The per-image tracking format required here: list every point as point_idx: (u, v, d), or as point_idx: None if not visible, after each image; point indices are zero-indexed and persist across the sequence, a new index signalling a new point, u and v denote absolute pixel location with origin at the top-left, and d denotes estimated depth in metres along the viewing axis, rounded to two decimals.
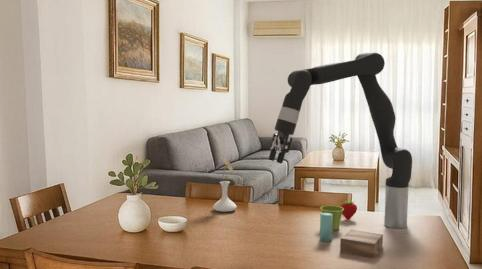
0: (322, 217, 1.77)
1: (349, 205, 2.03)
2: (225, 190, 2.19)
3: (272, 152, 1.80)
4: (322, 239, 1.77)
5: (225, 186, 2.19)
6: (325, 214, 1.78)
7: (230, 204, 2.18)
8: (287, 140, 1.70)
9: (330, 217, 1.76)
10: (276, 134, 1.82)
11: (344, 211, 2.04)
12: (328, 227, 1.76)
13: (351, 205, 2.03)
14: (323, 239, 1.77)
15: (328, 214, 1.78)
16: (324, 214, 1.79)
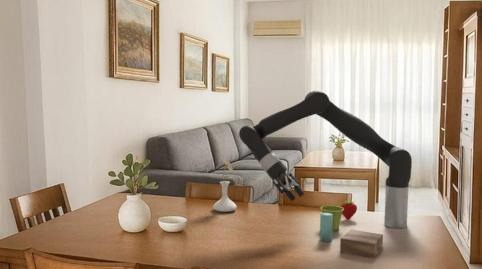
0: (322, 217, 1.77)
1: (349, 205, 2.03)
2: (225, 190, 2.19)
3: (296, 190, 1.88)
4: (322, 239, 1.77)
5: (225, 186, 2.19)
6: (325, 214, 1.78)
7: (230, 204, 2.18)
8: (276, 183, 1.80)
9: (330, 217, 1.76)
10: None
11: (344, 211, 2.04)
12: (328, 227, 1.76)
13: (351, 205, 2.03)
14: (323, 239, 1.77)
15: (328, 214, 1.78)
16: (324, 214, 1.79)
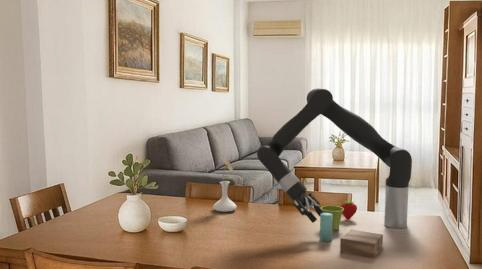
0: (322, 217, 1.77)
1: (349, 205, 2.03)
2: (225, 190, 2.19)
3: (316, 210, 1.84)
4: (322, 239, 1.77)
5: (225, 186, 2.19)
6: (325, 214, 1.78)
7: (230, 204, 2.18)
8: (296, 205, 1.77)
9: (330, 217, 1.76)
10: (307, 195, 1.88)
11: (344, 211, 2.04)
12: (328, 227, 1.76)
13: (351, 205, 2.03)
14: (323, 239, 1.77)
15: (328, 214, 1.78)
16: (324, 214, 1.79)
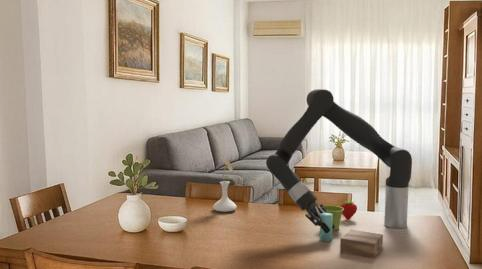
0: (322, 217, 1.77)
1: (349, 205, 2.03)
2: (225, 190, 2.19)
3: None
4: (322, 239, 1.77)
5: (225, 186, 2.19)
6: (326, 214, 1.78)
7: (230, 204, 2.18)
8: (309, 217, 1.75)
9: (330, 217, 1.76)
10: None
11: (344, 211, 2.04)
12: None
13: (351, 205, 2.03)
14: (323, 239, 1.77)
15: (328, 214, 1.78)
16: (324, 214, 1.79)
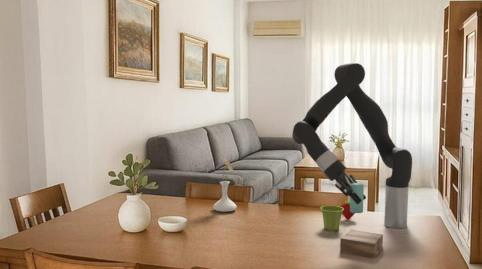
0: (353, 187, 1.66)
1: (349, 205, 2.03)
2: (225, 190, 2.19)
3: None
4: (353, 210, 1.67)
5: (225, 186, 2.19)
6: (356, 184, 1.68)
7: (230, 204, 2.18)
8: (339, 187, 1.64)
9: (361, 187, 1.66)
10: None
11: (344, 211, 2.04)
12: None
13: None
14: (354, 211, 1.67)
15: (359, 184, 1.68)
16: (355, 184, 1.68)
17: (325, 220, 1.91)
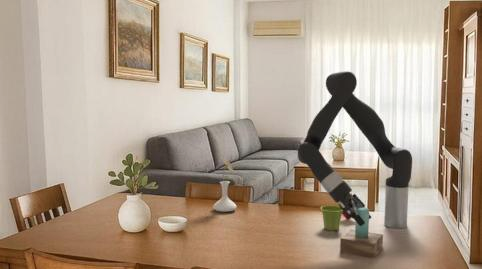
0: (358, 212, 1.65)
1: None
2: (225, 190, 2.19)
3: None
4: (358, 235, 1.66)
5: (225, 186, 2.19)
6: (361, 208, 1.67)
7: (230, 204, 2.18)
8: (342, 207, 1.63)
9: (367, 212, 1.65)
10: None
11: None
12: None
13: None
14: (359, 236, 1.66)
15: (364, 209, 1.67)
16: (360, 208, 1.67)
17: (325, 220, 1.91)
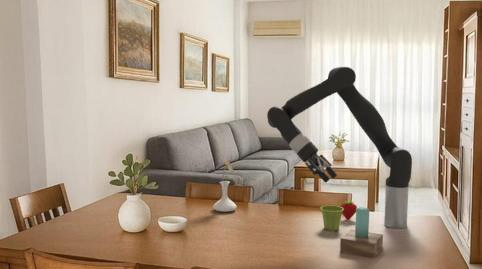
0: (358, 212, 1.65)
1: (349, 205, 2.03)
2: (225, 190, 2.19)
3: (328, 172, 1.81)
4: (358, 235, 1.66)
5: (225, 186, 2.19)
6: (362, 208, 1.67)
7: (230, 204, 2.18)
8: (308, 165, 1.73)
9: (367, 212, 1.65)
10: None
11: (344, 211, 2.04)
12: (365, 222, 1.65)
13: (351, 205, 2.03)
14: (359, 235, 1.66)
15: (364, 209, 1.67)
16: (360, 208, 1.67)
17: (325, 220, 1.91)
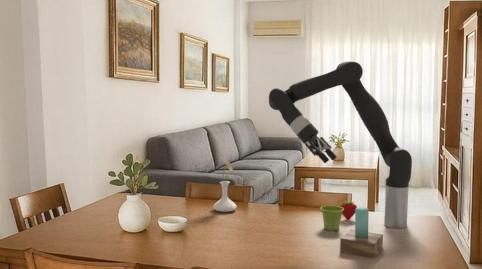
0: (357, 212, 1.65)
1: (349, 205, 2.03)
2: (225, 190, 2.19)
3: (328, 153, 1.83)
4: (358, 235, 1.66)
5: (225, 186, 2.19)
6: (361, 208, 1.67)
7: (230, 204, 2.18)
8: (308, 145, 1.75)
9: (366, 212, 1.65)
10: None
11: (344, 211, 2.04)
12: (364, 222, 1.65)
13: (351, 205, 2.03)
14: (359, 236, 1.66)
15: (364, 209, 1.67)
16: (359, 208, 1.67)
17: (325, 220, 1.91)
